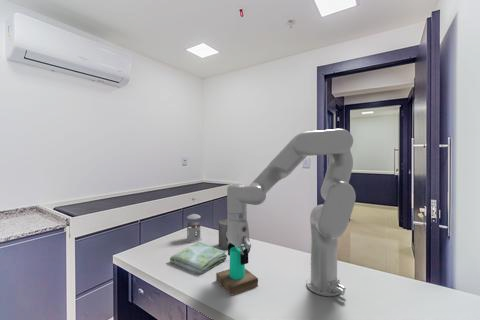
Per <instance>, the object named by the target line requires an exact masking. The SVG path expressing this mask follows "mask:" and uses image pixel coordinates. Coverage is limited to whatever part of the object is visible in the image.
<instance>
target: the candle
mask: <svg viewBox="0 0 480 320" xmlns="http://www.w3.org/2000/svg"><path fill="white" fill-rule="evenodd" d="M244 249H245V247H244V248H243V251H244ZM240 254H241V251H240V248H238V247H236V246H235V247H233V248H231V249H230V256H229V269H230V277H231V278H232V279H236V280H237V279H242V278H244V276H245V269H246V264H244V265H241V259H240Z"/></svg>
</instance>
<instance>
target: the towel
mask: <svg viewBox="0 0 480 320" xmlns="http://www.w3.org/2000/svg"><path fill="white" fill-rule="evenodd" d="M227 257H228V254H226V251H225V250H224V249H219V248H216V247H214V246H211V245H209V244H206V243H203V242H201V241H200V242H197V243H193V244H192V245H190V246H188V247H187V248H184V249H181V250H180V251H178V252H176V253H174V254H173V255H171V256H170V258H169V261H170V262H171V263H172V264H175V265H177V266H179V267H180V268H181V267H182V268H184V269H186V270H188V271H191V272H194V273H195V274H196V273H197V274H200V275H202V274H204V273H206V272H208V271H209V270H210V269H213V268H214V267H216V266H217V265H218V264H220V263H222V262H223V263H224V261H227V260H226V259H227Z"/></svg>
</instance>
